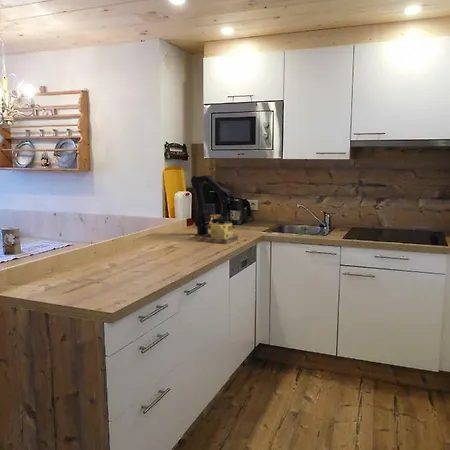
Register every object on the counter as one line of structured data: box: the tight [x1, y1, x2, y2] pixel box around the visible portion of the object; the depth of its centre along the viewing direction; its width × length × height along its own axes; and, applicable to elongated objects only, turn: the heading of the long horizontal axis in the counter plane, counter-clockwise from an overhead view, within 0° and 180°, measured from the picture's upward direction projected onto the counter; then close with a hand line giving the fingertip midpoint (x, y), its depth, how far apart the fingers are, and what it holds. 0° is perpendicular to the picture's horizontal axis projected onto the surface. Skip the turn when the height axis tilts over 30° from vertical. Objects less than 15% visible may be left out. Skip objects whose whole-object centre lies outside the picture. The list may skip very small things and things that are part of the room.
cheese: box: [210, 222, 234, 239], centre depth 278 cm, size 10×11×10 cm
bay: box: [198, 232, 239, 245], centre depth 277 cm, size 20×14×2 cm
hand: (226, 234), depth 286 cm, fingers closed, pressing on cheese
